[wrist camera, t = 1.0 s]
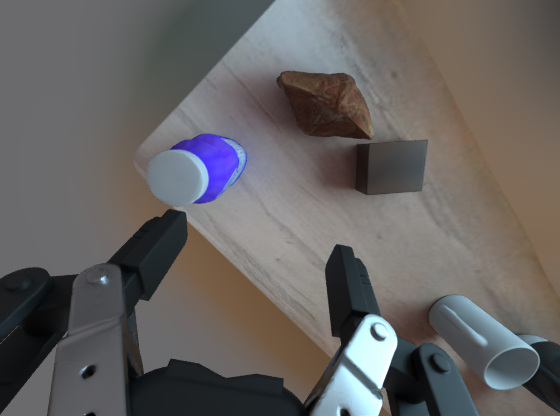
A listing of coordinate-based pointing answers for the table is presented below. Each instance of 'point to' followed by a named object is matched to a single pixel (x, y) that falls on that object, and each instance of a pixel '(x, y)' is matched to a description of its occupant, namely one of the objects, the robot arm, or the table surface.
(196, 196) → the bottle
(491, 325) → the mug
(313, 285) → the table surface
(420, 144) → the walnut block
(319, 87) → the fossil
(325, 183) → the table surface
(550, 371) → the pump dispenser
